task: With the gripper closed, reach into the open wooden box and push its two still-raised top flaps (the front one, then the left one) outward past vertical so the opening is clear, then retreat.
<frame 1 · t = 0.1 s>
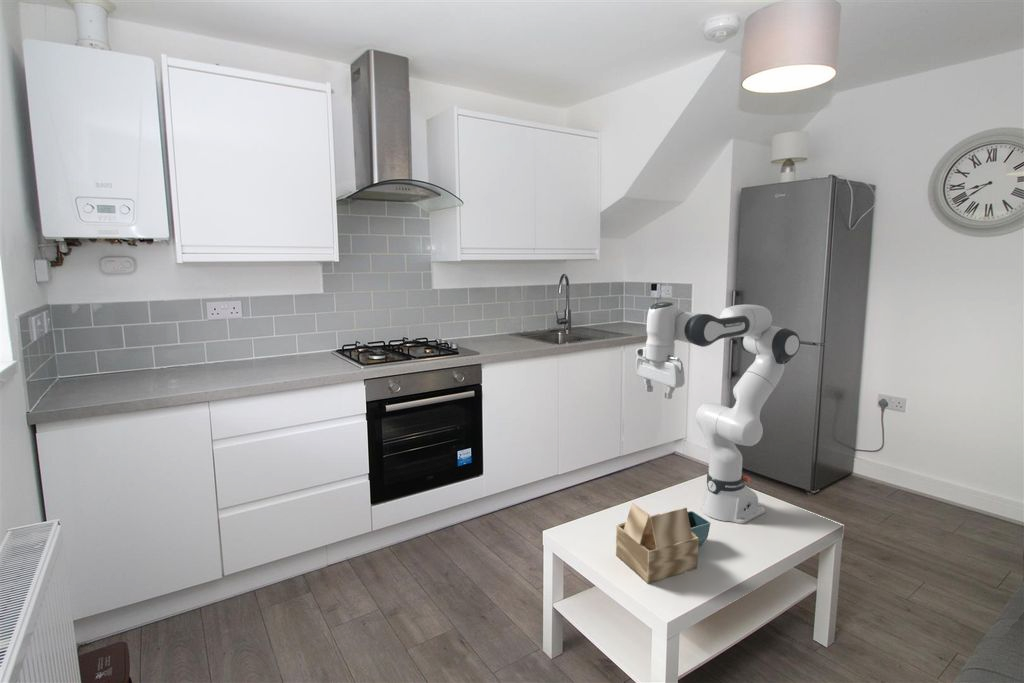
hand: (658, 394, 173), 48 cm above the table, tool pointing down, fingers open, 8 cm apart
open wooden box: (655, 561, 164), on the table
flower pot: (689, 545, 173), on the table
flap left: (671, 527, 155), point 15 cm above the table, hinge at 70.0°
flap front: (636, 523, 158), point 15 cm above the table, hinge at 70.0°
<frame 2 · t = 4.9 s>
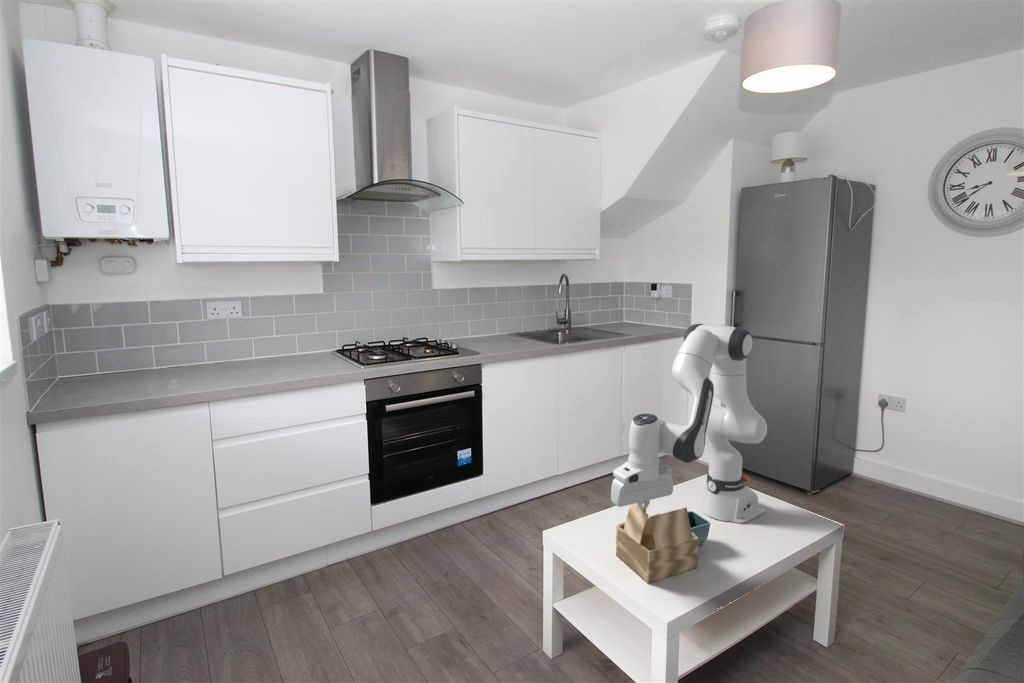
hand: (642, 513, 158), 17 cm above the table, tool pointing down, fingers closed, pressing on flap front
flap front: (635, 523, 158), point 15 cm above the table, hinge at 73.1°, touching gripper
everything else where it was.
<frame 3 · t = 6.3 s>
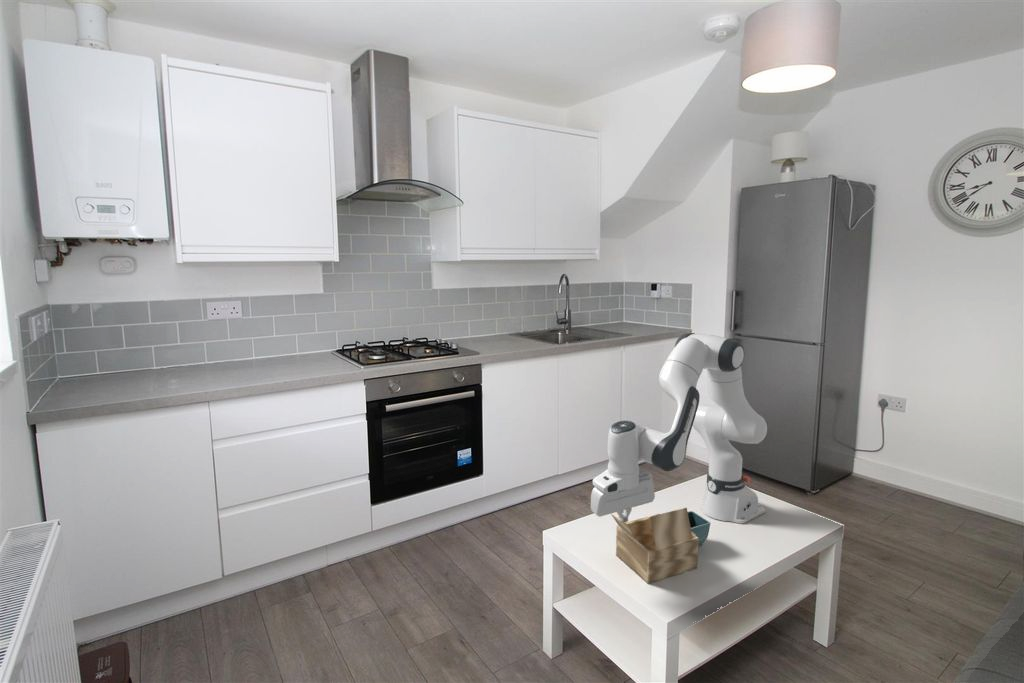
hand: (623, 521, 156), 16 cm above the table, tool pointing down, fingers closed
flap front: (624, 528, 157), point 14 cm above the table, hinge at 123.7°, touching gripper
everything else where it was.
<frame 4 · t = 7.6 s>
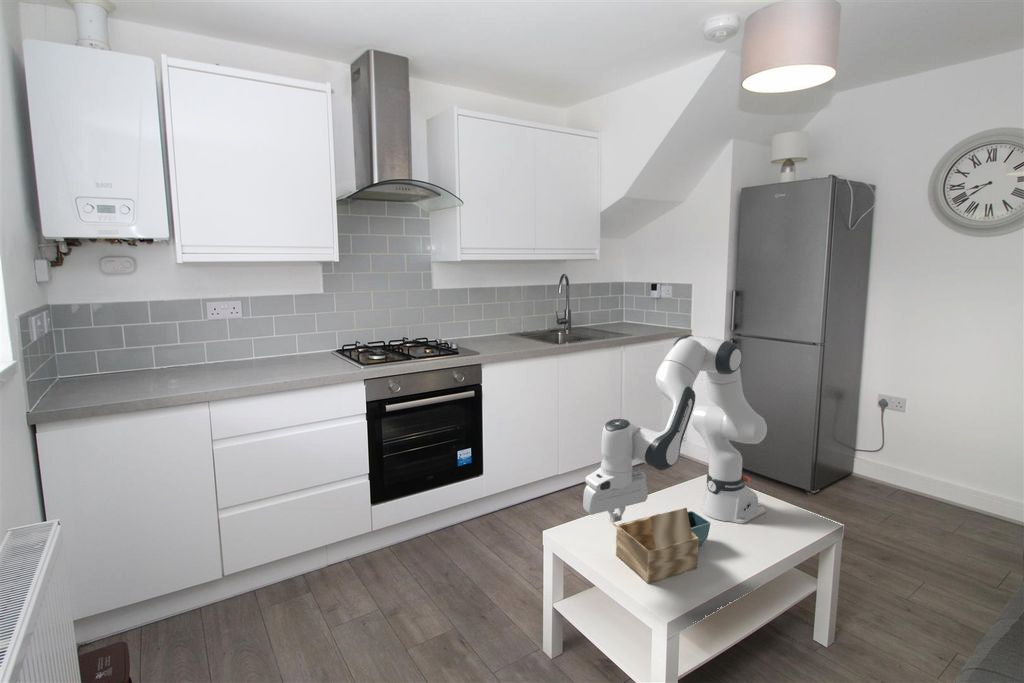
hand: (615, 520, 155), 17 cm above the table, tool pointing down, fingers closed
flap front: (622, 531, 156), point 13 cm above the table, hinge at 137.9°
everything else where it was.
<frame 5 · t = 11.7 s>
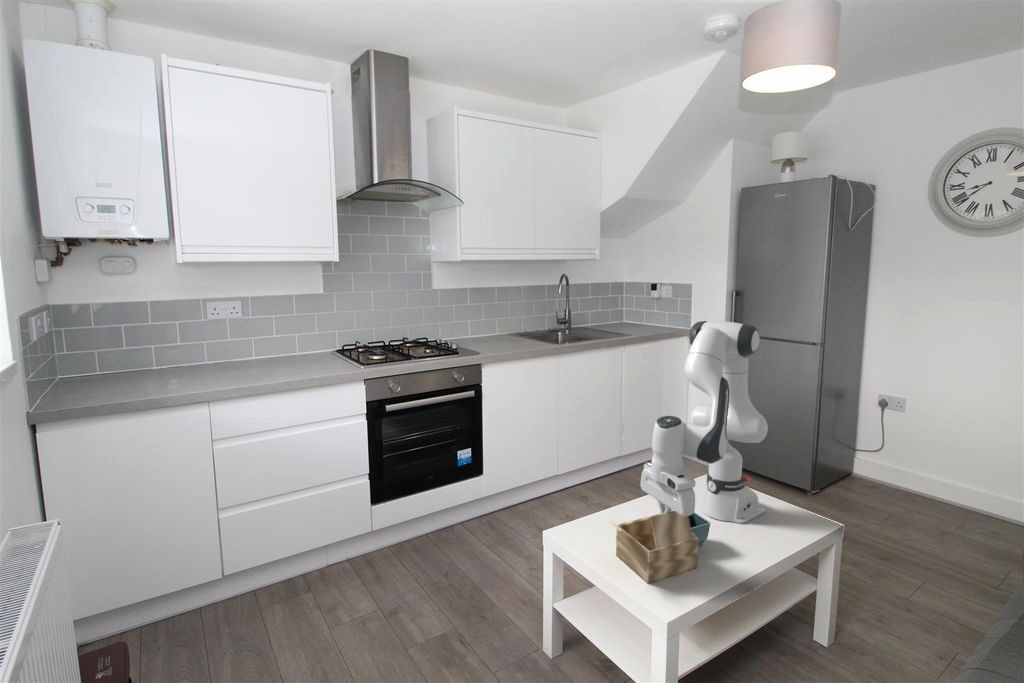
hand: (665, 516, 157), 17 cm above the table, tool pointing down, fingers closed
flap left: (671, 527, 155), point 15 cm above the table, hinge at 70.3°, touching gripper
everything else where it was.
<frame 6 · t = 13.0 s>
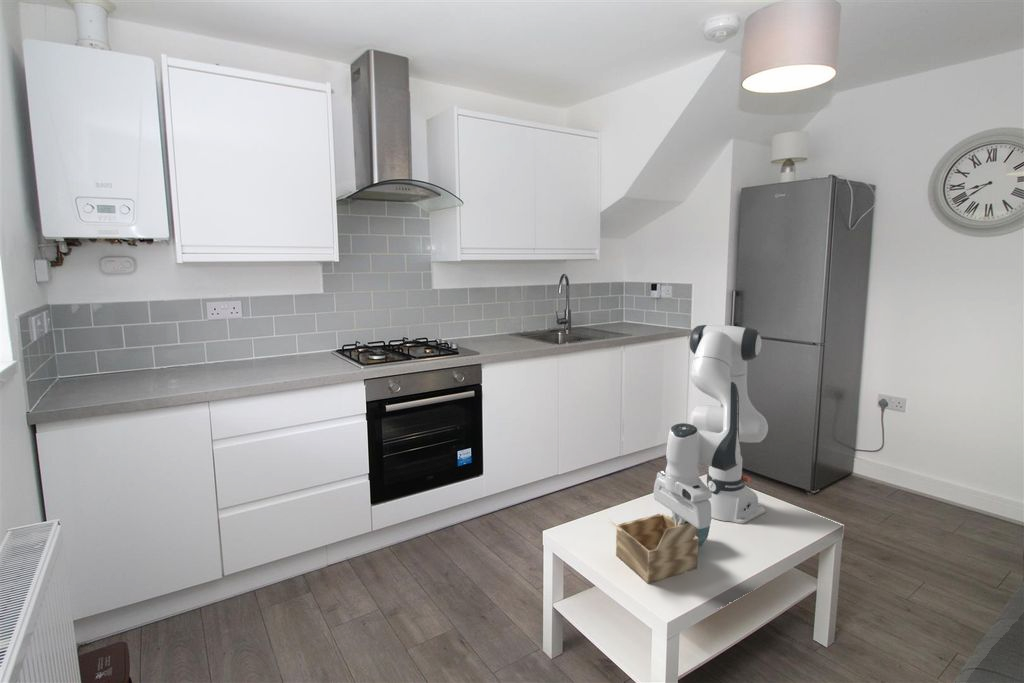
hand: (679, 527, 151), 17 cm above the table, tool pointing down, fingers closed
flap left: (679, 534, 152), point 14 cm above the table, hinge at 114.9°, touching gripper
everything else where it was.
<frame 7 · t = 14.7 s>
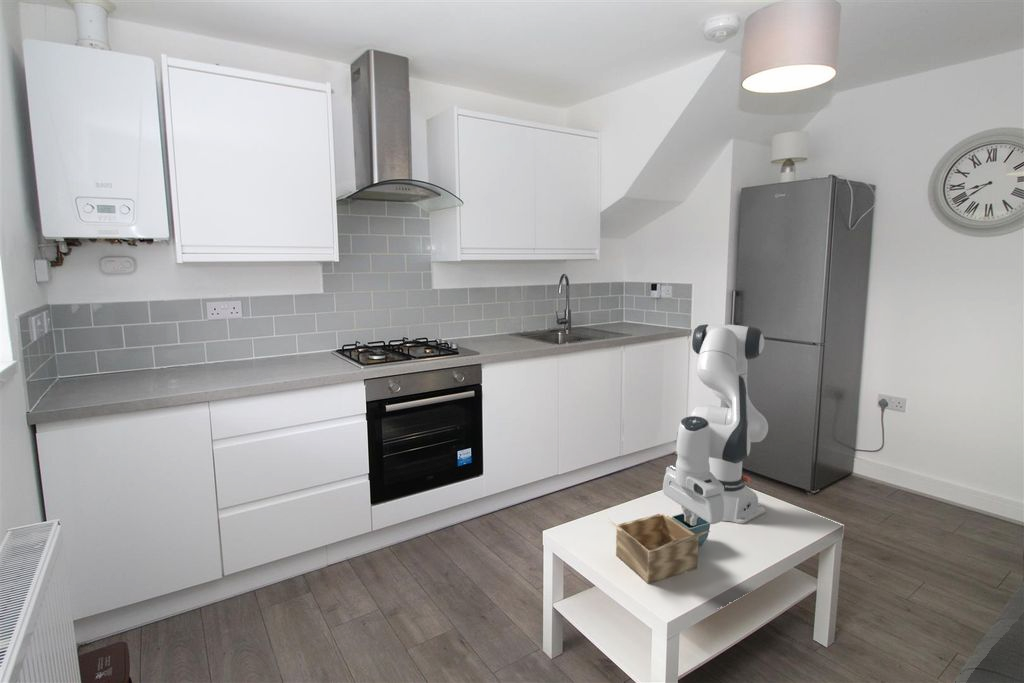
hand: (690, 523, 148), 20 cm above the table, tool pointing down, fingers closed
flap left: (682, 540, 151), point 13 cm above the table, hinge at 137.5°
everything else where it was.
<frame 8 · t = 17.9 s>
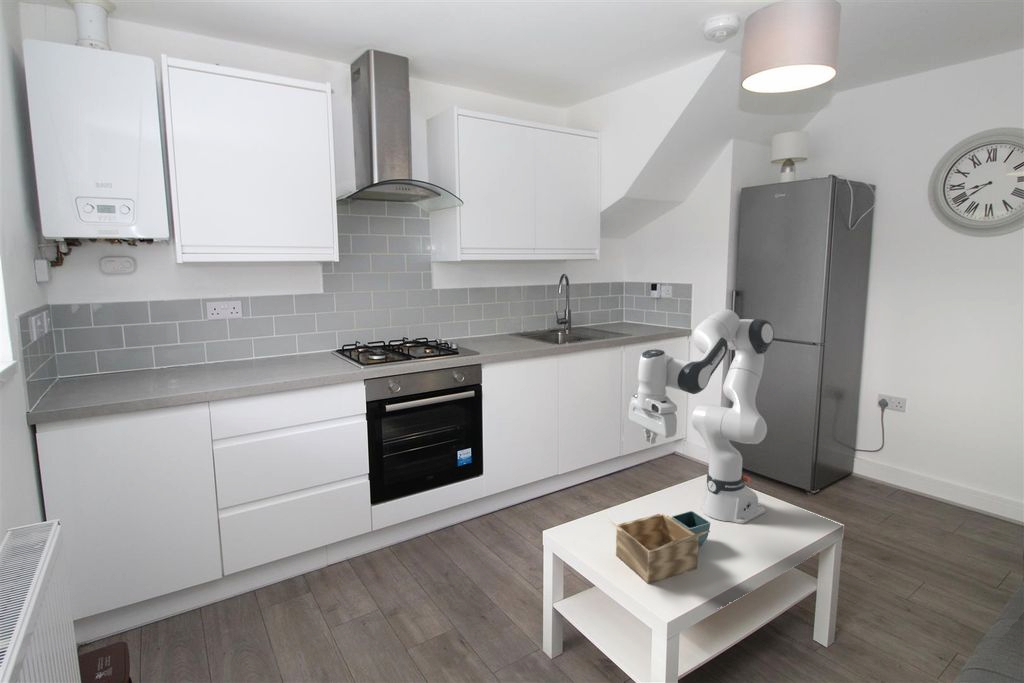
hand: (650, 442, 172), 33 cm above the table, tool pointing down, fingers closed
nothing on the table moved.
at the end: flap front at +138° (first picture: +70°); flap left at +138° (first picture: +70°) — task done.
